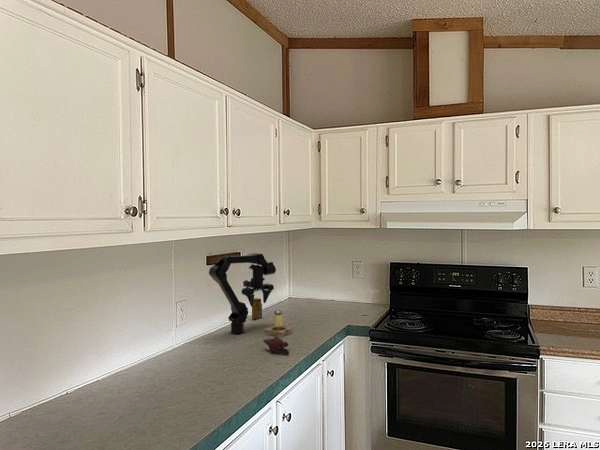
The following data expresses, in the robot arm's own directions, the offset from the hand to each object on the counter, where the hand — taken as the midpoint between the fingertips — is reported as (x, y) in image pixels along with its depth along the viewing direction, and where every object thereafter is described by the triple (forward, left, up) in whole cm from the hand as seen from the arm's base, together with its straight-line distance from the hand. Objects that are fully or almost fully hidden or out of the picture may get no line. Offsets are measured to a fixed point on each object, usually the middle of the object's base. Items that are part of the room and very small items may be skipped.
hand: (258, 304), depth 231 cm
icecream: (-28, -31, -13) cm, 44 cm away
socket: (-5, -17, -13) cm, 22 cm away
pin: (-5, -17, -13) cm, 22 cm away
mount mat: (+1, -9, -13) cm, 16 cm away
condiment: (+16, +13, -13) cm, 25 cm away
